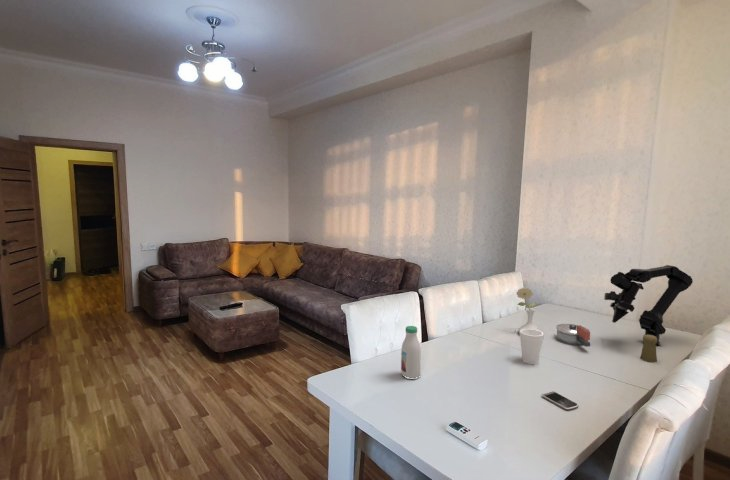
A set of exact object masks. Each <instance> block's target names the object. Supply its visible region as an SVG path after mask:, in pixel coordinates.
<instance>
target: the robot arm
mask: <svg viewBox="0 0 730 480" xmlns="http://www.w3.org/2000/svg"><path fill="white" fill-rule="evenodd" d="M658 277H659V278H660V277H666V278H667V279H668V280H667V288H666V289H665V291H664V292H663V294H662V295H661V296H660V297H659V299H658V301H656V303H655V304H654V306H652V308H651V310H646V309H645V310H643V312H642V314H641V315H639V318H638V322H639V326H640V329H641V330H644V335H653V336H655V337H657V343H656V347H660V345H661V341H660V336H661V335H664V334H665V333H666V327H664V326H663V323H664V317H663V316H664V315H665V313H666V312H667V311H668V309H669V308H670V306H671V305H672V303H674V301H675V300H676V298H677V297H678V296H679V294H680V293H682V292H684V291H686V290H687V289H689V287H691V286H692V285H693V278H692V276H690V275H688V274H687V272H684V271H682V270H681V269H679V267H677V266H676V265H675V266H674V265H669V264H666V265H664V266H663V265H662V266H659V267H652V268H646V269H644V268H631V269H629V271H628V272H625V273H623V272H621V271H618V272H617V273H616V274H614V275H612V276H611V277H610V281H609V282H610V283H611V284H612V285H613V286H614V287H617V288H618V289H621V292H619V293H618V294H617V293H616V291H614V290H613V291H610V292H604V297H603V298H604V299H603V300H604V301H608V300H609V301H613V302H610V305H609V307H611V308H612V310H613V316H612V323H613V324H614V323H617V322H619V320H621V319H622V318H624V317H625V316H627V314H629V313H630V312H631V313H632V312H634V310H635V305H633V302H634V301H635V300H636V296H637V294H638V293H639V291H640V290H644V289H645V288H644V286H643V284H644V283H647V282H650V281H651V279H654V278H658ZM629 311H630V312H629ZM642 344H644V341H643V340H642Z"/></svg>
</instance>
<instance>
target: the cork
mask: <svg viewBox="0 0 730 480" xmlns="http://www.w3.org/2000/svg"><path fill="white" fill-rule="evenodd" d="M643 341H644V343H643V346H642V350H641V352H640V353H641V354H640V360H641V361H644V362H647V363H658V356H657V346H656V343H657V337H655V336H653V335H645V334H644V335H643V337H642V342H643Z"/></svg>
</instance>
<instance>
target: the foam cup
mask: <svg viewBox="0 0 730 480" xmlns="http://www.w3.org/2000/svg"><path fill="white" fill-rule="evenodd" d="M544 334H545V333H544V332H543V331H541V330H540V331H538V330H534V329H522V330H520V333H519V338H520V349H521V358H522V361H523V362H524V363H526V364H529V365H537V364H538V363H539V361H540V356H541V351H542V345H543V342H544V336H545V335H544Z"/></svg>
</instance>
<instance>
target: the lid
mask: <svg viewBox="0 0 730 480" xmlns="http://www.w3.org/2000/svg"><path fill="white" fill-rule="evenodd" d="M555 328H556V331H557V330H558V331H560V332H562V333H566V334H570V335H578V336H581V337H582V338H584V339H585V340H588V341H590V340H591V330H590V329H589V328H587V327H584V326H582V325H580V324H579V325H578V324H573V323H560V324H557V325H556V327H555Z"/></svg>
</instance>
